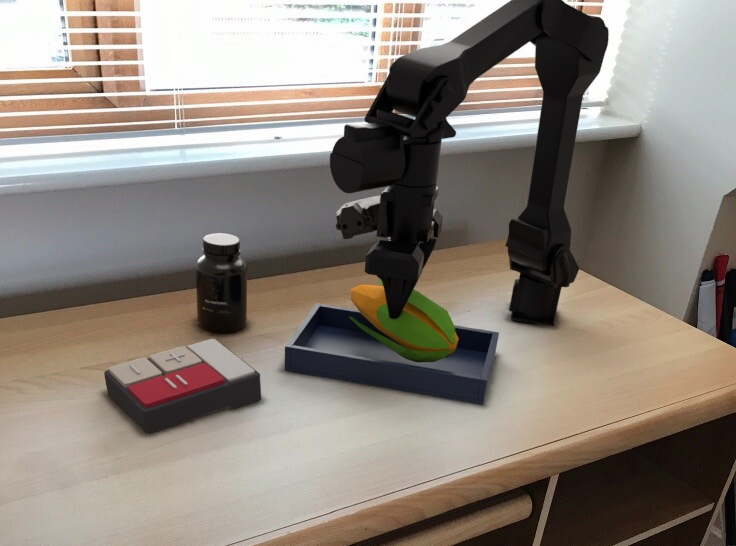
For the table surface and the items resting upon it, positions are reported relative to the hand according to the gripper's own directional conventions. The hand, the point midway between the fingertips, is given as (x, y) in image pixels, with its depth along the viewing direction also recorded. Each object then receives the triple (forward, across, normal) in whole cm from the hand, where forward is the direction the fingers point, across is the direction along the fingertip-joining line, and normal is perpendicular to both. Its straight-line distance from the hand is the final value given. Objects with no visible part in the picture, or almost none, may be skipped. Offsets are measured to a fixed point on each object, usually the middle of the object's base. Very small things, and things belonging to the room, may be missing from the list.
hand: (399, 307), depth 108 cm
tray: (+8, 0, 0) cm, 8 cm away
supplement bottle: (+8, -3, -25) cm, 26 cm away
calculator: (+8, +18, -22) cm, 30 cm away
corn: (+5, -1, 0) cm, 5 cm away
